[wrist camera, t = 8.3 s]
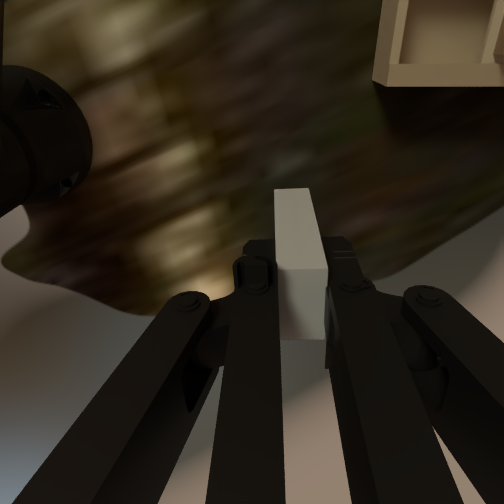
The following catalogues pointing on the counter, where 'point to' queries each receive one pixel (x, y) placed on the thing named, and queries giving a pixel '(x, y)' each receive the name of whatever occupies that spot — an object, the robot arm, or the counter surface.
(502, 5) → the lid
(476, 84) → the box
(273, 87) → the counter surface
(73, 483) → the robot arm
